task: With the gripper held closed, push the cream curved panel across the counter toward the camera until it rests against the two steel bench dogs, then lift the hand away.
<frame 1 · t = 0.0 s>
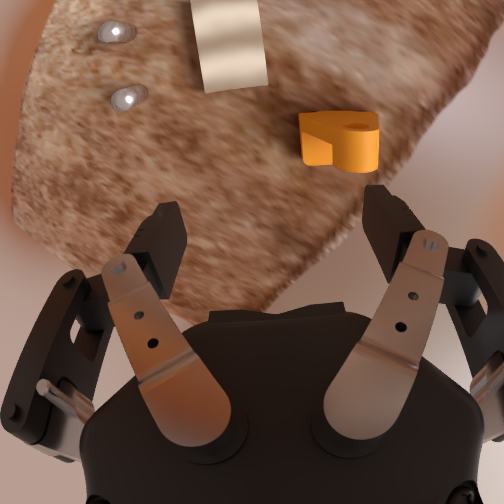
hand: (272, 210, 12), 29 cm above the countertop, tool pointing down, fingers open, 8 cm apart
bracket: (335, 134, 37), on the countertop
cream curved panel: (231, 40, 29), on the countertop
bench dogs: (132, 63, 30), on the countertop
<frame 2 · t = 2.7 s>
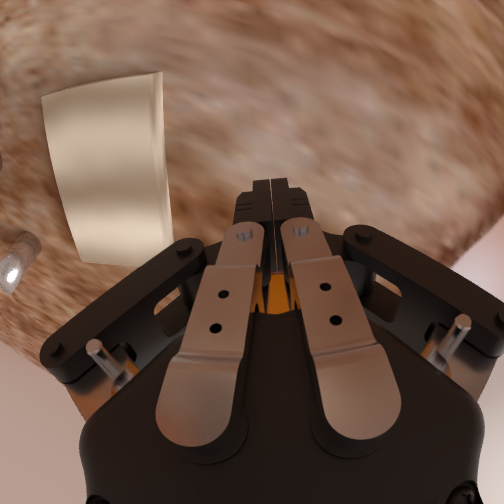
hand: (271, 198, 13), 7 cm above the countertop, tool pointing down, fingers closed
bracket: (302, 297, 27), on the countertop
cream curved panel: (119, 168, 19), on the countertop
bench dogs: (10, 203, 20), on the countertop
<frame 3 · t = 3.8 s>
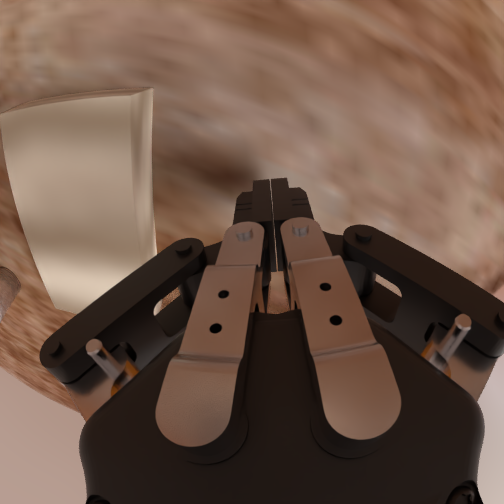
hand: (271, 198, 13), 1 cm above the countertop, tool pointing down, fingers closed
cream curved panel: (96, 206, 15), on the countertop
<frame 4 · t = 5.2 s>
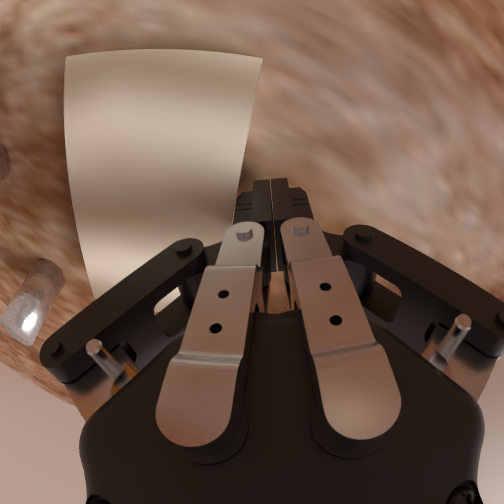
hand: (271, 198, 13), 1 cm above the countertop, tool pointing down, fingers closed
cream curved panel: (162, 182, 14), on the countertop
bench dogs: (22, 221, 15), on the countertop
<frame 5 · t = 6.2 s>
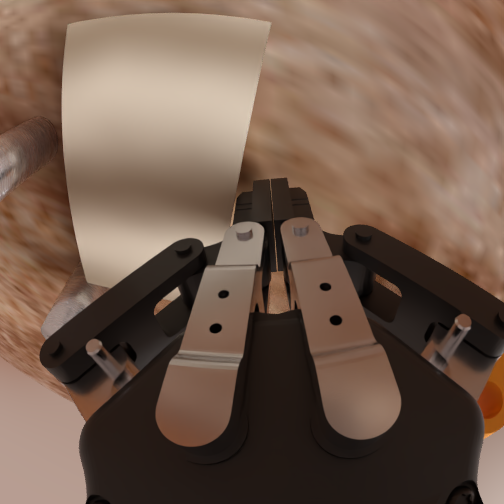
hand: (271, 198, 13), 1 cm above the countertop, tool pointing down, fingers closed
bracket: (434, 328, 22), on the countertop
cream curved panel: (162, 157, 13), on the countertop, touching gripper
bench dogs: (66, 213, 15), on the countertop
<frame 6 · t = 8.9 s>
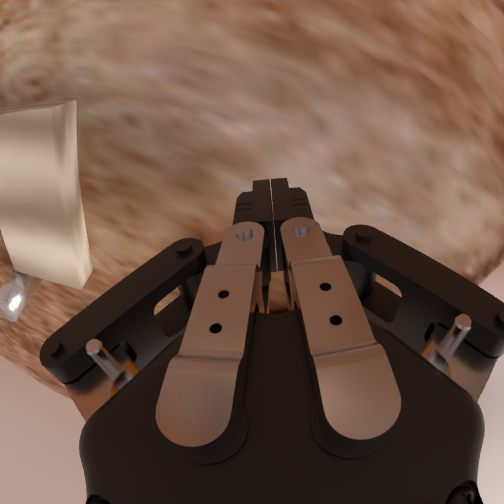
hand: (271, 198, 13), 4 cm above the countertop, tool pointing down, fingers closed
cream curved panel: (45, 188, 17), on the countertop
bench dogs: (11, 224, 19), on the countertop
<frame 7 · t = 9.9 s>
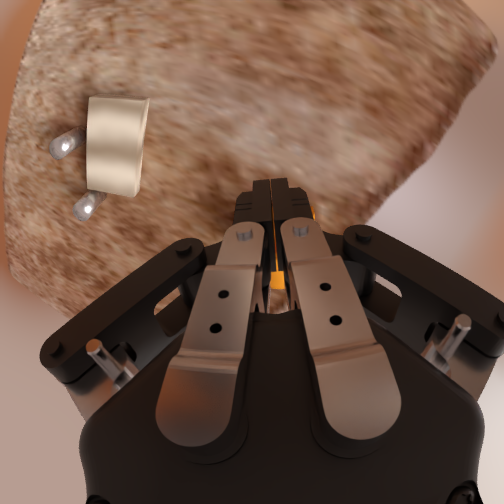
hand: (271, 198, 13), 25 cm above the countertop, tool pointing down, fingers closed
bracket: (276, 226, 44), on the countertop
cream curved panel: (119, 141, 35), on the countertop
bench dogs: (88, 164, 37), on the countertop
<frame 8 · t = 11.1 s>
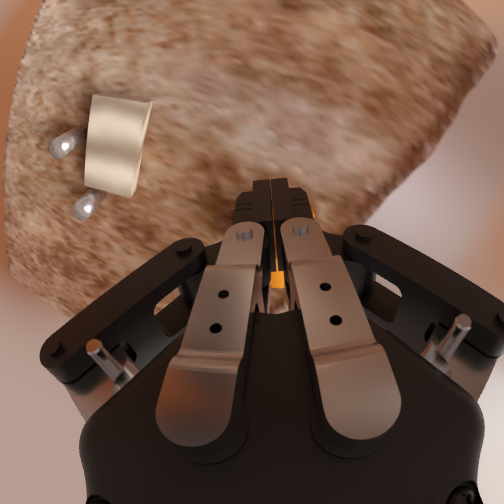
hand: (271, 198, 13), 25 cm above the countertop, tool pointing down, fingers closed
cream curved panel: (119, 140, 35), on the countertop
bench dogs: (88, 164, 37), on the countertop
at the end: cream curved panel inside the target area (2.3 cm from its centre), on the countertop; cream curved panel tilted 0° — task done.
